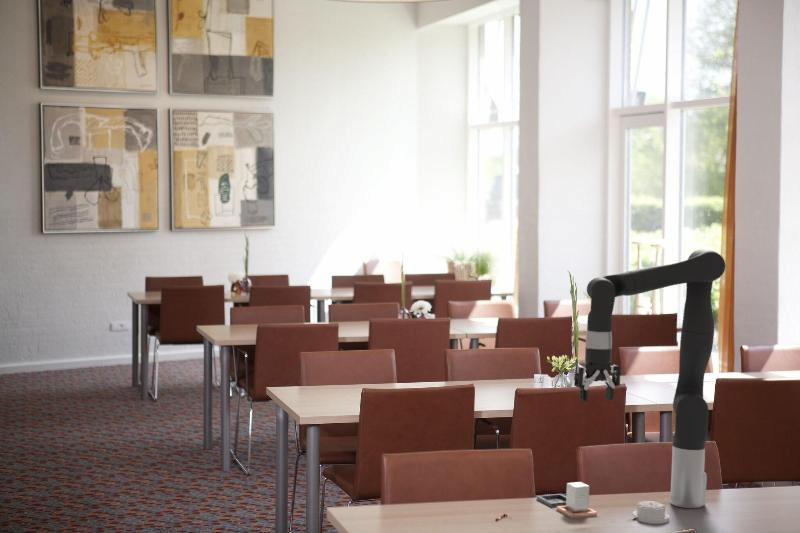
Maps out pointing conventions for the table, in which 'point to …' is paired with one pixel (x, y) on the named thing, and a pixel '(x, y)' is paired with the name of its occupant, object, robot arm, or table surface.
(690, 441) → the robot arm
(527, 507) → the table surface
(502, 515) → the pencil
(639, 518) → the mechanical component
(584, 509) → the block
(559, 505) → the double frame tray
